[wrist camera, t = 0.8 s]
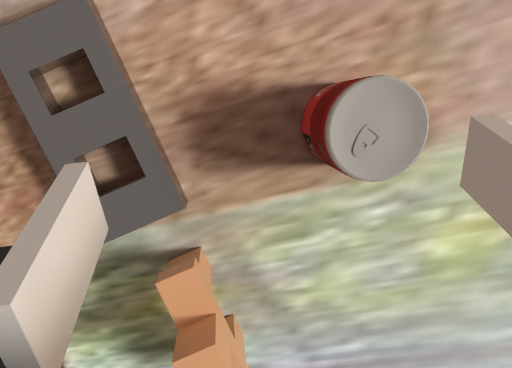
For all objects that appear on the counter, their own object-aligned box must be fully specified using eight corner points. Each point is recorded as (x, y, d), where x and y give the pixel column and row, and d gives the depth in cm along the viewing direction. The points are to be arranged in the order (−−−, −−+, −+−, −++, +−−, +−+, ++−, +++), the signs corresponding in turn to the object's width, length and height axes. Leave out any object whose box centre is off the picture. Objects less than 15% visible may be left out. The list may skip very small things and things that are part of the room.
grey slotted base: (187, 201, 43) (185, 207, 40) (102, 238, 43) (94, 247, 40) (92, -1, 40) (82, -9, 37) (-1, 40, 39) (-19, 35, 37)
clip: (245, 340, 46) (255, 425, 34) (215, 354, 46) (213, 443, 34) (197, 239, 44) (189, 291, 32) (165, 254, 44) (144, 311, 32)
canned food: (287, 147, 43) (309, 161, 32) (319, 69, 42) (354, 56, 31) (357, 175, 44) (402, 198, 34) (390, 100, 43) (448, 98, 32)
